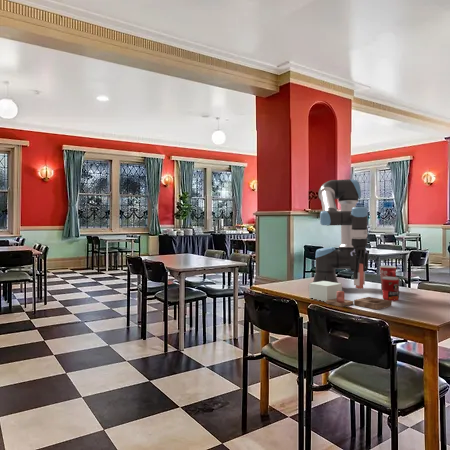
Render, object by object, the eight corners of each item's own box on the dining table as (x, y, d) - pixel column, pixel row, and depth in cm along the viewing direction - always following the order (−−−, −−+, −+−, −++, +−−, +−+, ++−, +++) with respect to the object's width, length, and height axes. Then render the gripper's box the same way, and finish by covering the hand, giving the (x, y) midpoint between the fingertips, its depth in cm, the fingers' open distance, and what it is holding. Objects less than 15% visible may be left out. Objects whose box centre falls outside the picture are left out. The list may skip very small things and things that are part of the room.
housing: (309, 298, 206) (309, 283, 206) (324, 295, 213) (324, 280, 212) (327, 302, 196) (326, 286, 196) (342, 299, 203) (341, 283, 203)
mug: (377, 289, 231) (377, 265, 231) (392, 288, 231) (392, 265, 230) (385, 293, 218) (385, 268, 218) (402, 293, 218) (402, 268, 218)
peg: (354, 287, 199) (354, 264, 199) (358, 286, 201) (358, 263, 201) (360, 288, 196) (360, 264, 196) (364, 287, 199) (364, 264, 198)
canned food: (389, 301, 197) (389, 279, 197) (379, 298, 205) (379, 276, 205) (402, 300, 199) (402, 278, 199) (391, 297, 207) (391, 276, 207)
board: (326, 303, 193) (326, 290, 193) (338, 301, 199) (338, 288, 199) (341, 306, 186) (341, 293, 186) (353, 304, 191) (353, 290, 191)
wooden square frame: (354, 305, 189) (354, 299, 189) (369, 301, 196) (369, 296, 196) (376, 309, 180) (376, 304, 180) (391, 306, 187) (391, 300, 187)
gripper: (355, 239, 190) (355, 288, 191) (375, 237, 200) (375, 283, 201) (342, 238, 196) (342, 285, 197) (362, 236, 206) (362, 281, 207)
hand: (359, 284), depth 199 cm, fingers closed on peg, 3 cm apart
